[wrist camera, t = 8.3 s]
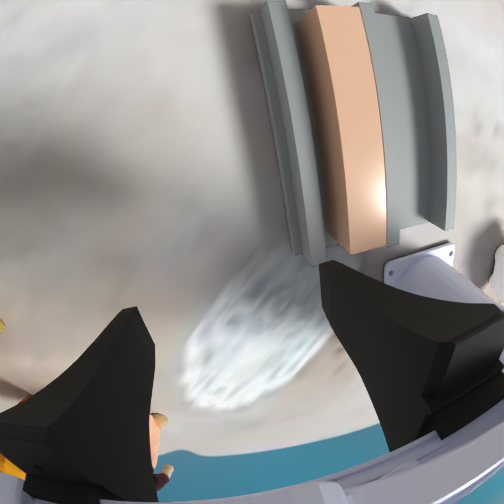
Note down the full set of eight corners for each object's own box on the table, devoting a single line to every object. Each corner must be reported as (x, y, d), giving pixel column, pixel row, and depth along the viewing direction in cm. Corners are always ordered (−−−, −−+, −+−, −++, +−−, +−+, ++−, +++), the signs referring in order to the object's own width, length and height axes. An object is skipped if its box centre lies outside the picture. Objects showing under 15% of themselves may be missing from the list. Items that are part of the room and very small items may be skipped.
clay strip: (360, 225, 20) (386, 245, 17) (328, 232, 20) (350, 255, 17) (333, 22, 14) (359, 7, 11) (295, 22, 14) (315, 5, 11)
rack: (435, 214, 22) (457, 227, 19) (291, 249, 21) (304, 269, 19) (417, 23, 15) (442, 16, 12) (249, 17, 14) (257, 1, 12)
